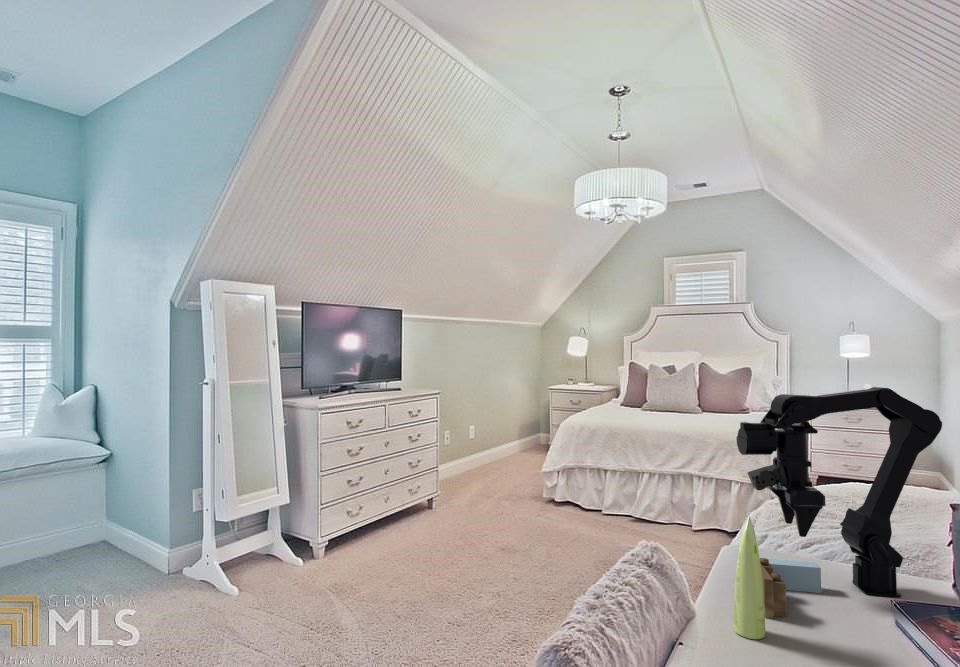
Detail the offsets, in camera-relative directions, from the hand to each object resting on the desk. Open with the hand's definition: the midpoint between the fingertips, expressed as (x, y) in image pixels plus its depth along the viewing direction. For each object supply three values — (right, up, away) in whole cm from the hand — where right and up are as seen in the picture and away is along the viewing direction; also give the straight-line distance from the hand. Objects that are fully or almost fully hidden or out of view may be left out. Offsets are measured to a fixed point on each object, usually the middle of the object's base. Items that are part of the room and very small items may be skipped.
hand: (795, 529), depth 116 cm
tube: (-20, -11, -20) cm, 30 cm away
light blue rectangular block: (-3, -12, 0) cm, 12 cm away
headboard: (-10, -11, -8) cm, 17 cm away
